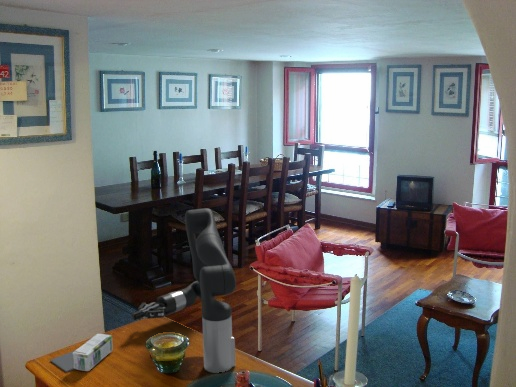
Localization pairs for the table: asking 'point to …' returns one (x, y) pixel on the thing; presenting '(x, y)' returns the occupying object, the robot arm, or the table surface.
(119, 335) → the table surface
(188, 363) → the table surface
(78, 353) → the syrup box
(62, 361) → the charcoal mat
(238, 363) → the table surface
